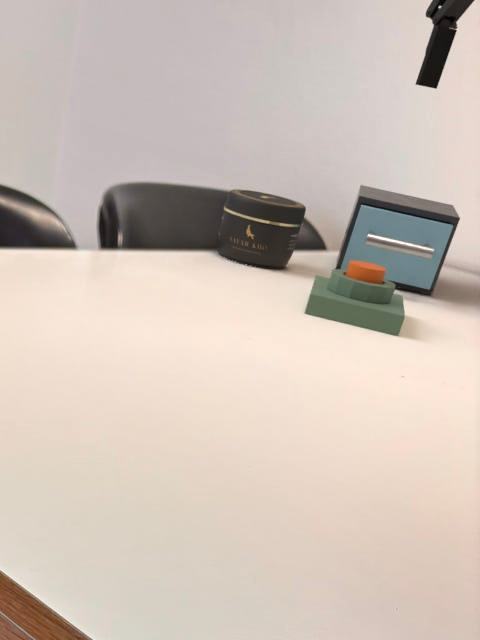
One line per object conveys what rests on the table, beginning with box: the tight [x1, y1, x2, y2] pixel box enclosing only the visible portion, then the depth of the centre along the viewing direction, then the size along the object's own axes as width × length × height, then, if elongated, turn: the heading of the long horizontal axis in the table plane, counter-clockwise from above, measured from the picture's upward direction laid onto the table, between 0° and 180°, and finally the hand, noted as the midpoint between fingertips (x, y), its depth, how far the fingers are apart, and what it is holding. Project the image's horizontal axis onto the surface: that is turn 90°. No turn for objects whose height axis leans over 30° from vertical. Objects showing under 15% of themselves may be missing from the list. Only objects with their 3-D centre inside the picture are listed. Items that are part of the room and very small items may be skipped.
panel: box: [304, 268, 406, 337], centre depth 118 cm, size 12×10×4 cm
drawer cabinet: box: [334, 184, 461, 296], centre depth 143 cm, size 15×13×10 cm
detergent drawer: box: [341, 204, 453, 290], centre depth 138 cm, size 20×11×8 cm, turn 162°
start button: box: [346, 260, 386, 284], centre depth 117 cm, size 4×4×2 cm
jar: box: [216, 188, 307, 270], centre depth 135 cm, size 10×10×8 cm
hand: (458, 94), depth 128 cm, fingers open, 13 cm apart
